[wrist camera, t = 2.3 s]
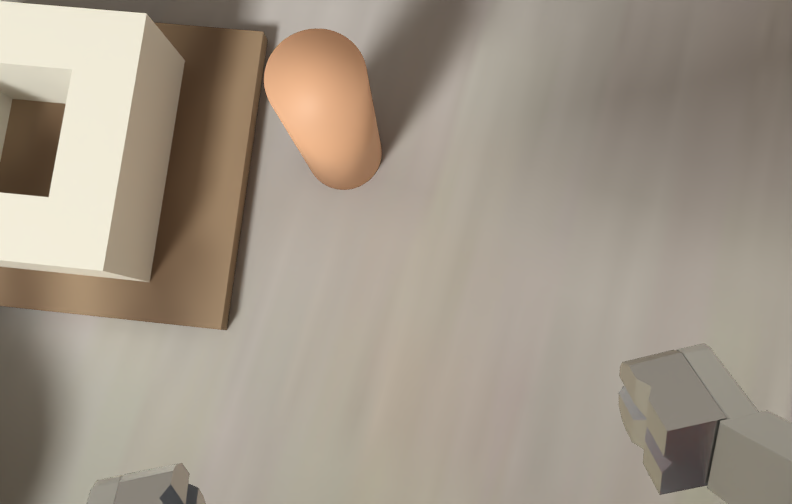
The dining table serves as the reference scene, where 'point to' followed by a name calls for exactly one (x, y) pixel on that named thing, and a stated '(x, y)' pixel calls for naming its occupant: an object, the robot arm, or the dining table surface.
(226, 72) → the base board
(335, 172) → the peg
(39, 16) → the socket block
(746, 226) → the dining table surface
